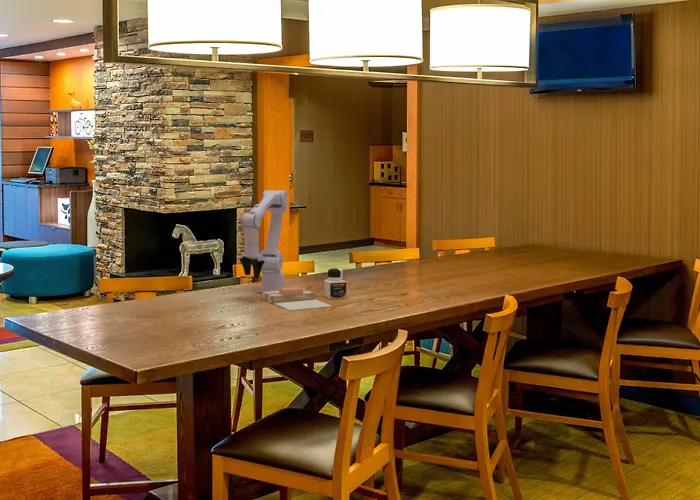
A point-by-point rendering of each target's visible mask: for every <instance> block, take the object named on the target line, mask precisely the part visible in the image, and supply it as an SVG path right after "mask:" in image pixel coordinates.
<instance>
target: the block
mask: <svg viewBox="0 0 700 500" xmlns="http://www.w3.org/2000/svg"><path fill="white" fill-rule="evenodd" d="M303 289H304V288H302V287H299V286H292V287H291V286H290V287H284V288H279V293H280V294H282V295H297V294H303Z"/></svg>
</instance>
